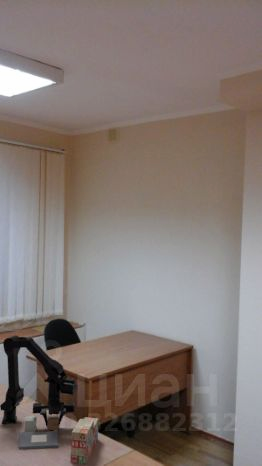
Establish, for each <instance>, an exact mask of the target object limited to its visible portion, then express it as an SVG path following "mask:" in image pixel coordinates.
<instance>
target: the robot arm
mask: <svg viewBox="0 0 262 466" xmlns="http://www.w3.org/2000/svg"><path fill="white" fill-rule="evenodd" d="M2 345H3V350H4V353H5V355H6V357H7V378H8V379H7V380H8V383H7V385H8V386H7V387H8V388H7V390H6V393H5V400H4V402H2V403H1V404H0V411H3V417H2V421H1V424H16V423H17V420H18V416H17V407H18V406H19V405H20V403H21V402H22V401H23V399H24V397H25V394H24V393H25V392H24V391H25V387H22V388H21V386H20V378H19V377H20V374H19V373H20V372H19V353H20V351H21V349H22V348H23V349H26V350H28V352H29V353H30V354H31V355H32V356H33V358H35V359H36V361H38V362H39V363H40V365H41V366H42V367H43V370H44V373H45V374H46V376H47V377H46V379H44V381H43V382H45V383H48V389H47V390H48V391H47V405H43V403H42V402H33V405H32V414H39V415H40V416H42V417H43V419H44V423H45V427H46V428H47V418H48V415H59V426H60V425H61V423H62V420H63V418H64V416H65V415H67V414H68V413H75V403H74V401H66V402H65V401H63V402H62V401H61V396H62V395H61V394H63V395H69V396H76V395H77V392H78V388H79V387H78V383H77V379H75V378H74V379H71V378H69V377H68V375H67V373H66V371H65V369H64V366H63V364H61V363H60V362H59V361H58V360H56V359H53V358H52V357H50V356H49V355H48V354H47V353H46V352H45V351H44V349H42V347H40V345H39V344H38V343H37V342H36V341H35V340H34V338H33V337H26V336H18V335H11V336H9V337H6V338H5V339H4V340H3V342H2ZM47 411H48V413H47Z"/></svg>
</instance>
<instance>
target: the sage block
mask: <svg viewBox="0 0 262 466" xmlns="http://www.w3.org/2000/svg"><path fill="white" fill-rule="evenodd" d="M34 431H36V432H37V416H36V415H35V416H34V415H29V416H25V417H24V432H34Z"/></svg>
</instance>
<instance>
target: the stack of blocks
mask: <svg viewBox="0 0 262 466" xmlns="http://www.w3.org/2000/svg"><path fill="white" fill-rule="evenodd" d="M98 439H99V418H97V417H96V418H95V417H84V418H80V419H79V420H78V421H77V423H76V425H75V427H74V428H73V430H72V431H71V440H70V461H69V462H70V463H73V464H74V463H75V464H81V465H86V464H87V462H88V460H89V459H90V458H89V457H91V455H92V452H93V450H94V447H95V446H96V444H97V442H98Z"/></svg>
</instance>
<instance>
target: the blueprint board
mask: <svg viewBox="0 0 262 466" xmlns="http://www.w3.org/2000/svg"><path fill="white" fill-rule="evenodd" d="M58 431H59V430H58ZM58 431H47V430H46V431H36V432H21V431H20V434H19V435H20V437H19V441H18V442H19V443H18V444H19V445H18V450H30V449H32V450H33V449H48V448H49V449H50V448H59V435H58Z"/></svg>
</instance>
